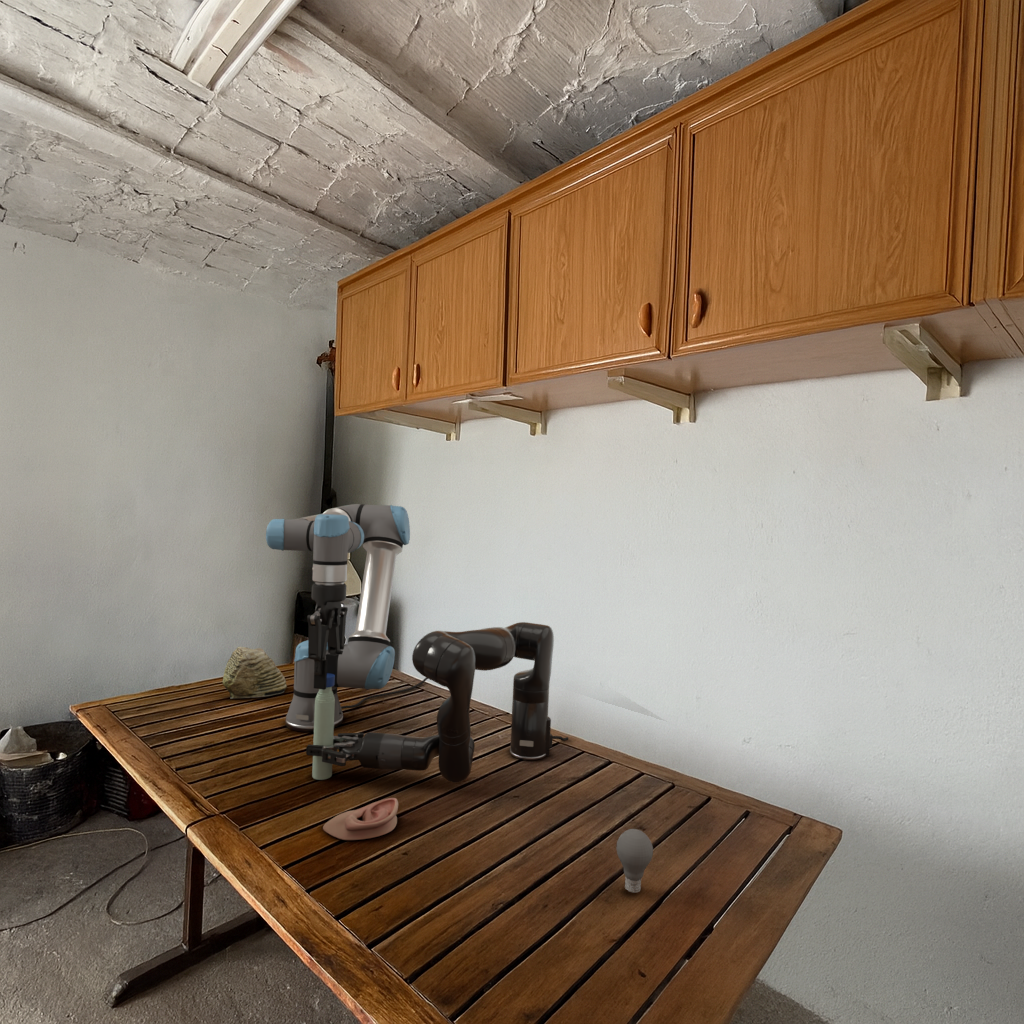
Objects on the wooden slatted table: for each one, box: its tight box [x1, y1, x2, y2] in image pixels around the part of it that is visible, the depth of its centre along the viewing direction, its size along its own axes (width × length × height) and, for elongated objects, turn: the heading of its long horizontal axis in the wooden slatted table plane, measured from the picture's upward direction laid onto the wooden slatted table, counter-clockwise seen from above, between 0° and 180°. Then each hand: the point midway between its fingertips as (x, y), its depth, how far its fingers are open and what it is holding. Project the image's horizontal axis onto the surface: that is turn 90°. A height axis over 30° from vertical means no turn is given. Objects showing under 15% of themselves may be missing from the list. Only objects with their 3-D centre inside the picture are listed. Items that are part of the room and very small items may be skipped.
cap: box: [326, 673, 335, 688], centre depth 143 cm, size 4×4×2 cm
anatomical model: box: [322, 797, 399, 841], centre depth 122 cm, size 13×4×12 cm
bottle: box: [311, 687, 335, 781], centre depth 144 cm, size 4×4×22 cm
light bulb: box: [615, 828, 654, 894], centre depth 106 cm, size 6×6×10 cm
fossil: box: [222, 646, 288, 699], centre depth 198 cm, size 9×18×15 cm, turn 132°
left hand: (325, 685), depth 143 cm, fingers closed on cap, 4 cm apart
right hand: (311, 745), depth 144 cm, fingers closed on bottle, 4 cm apart
